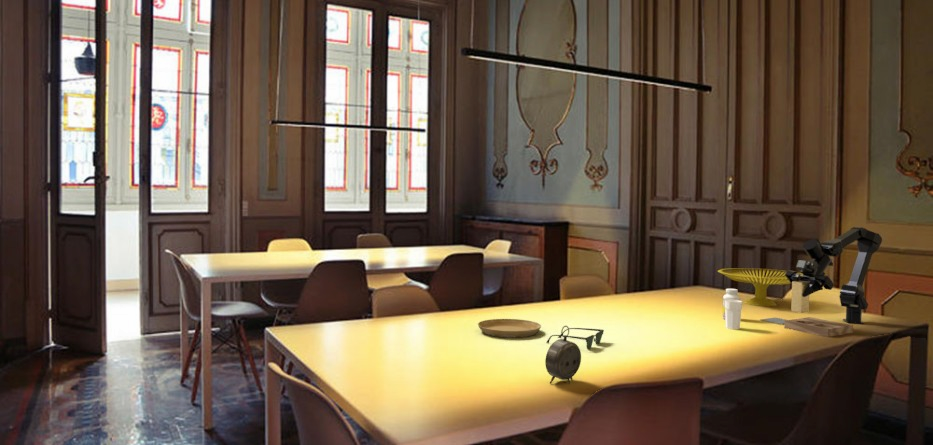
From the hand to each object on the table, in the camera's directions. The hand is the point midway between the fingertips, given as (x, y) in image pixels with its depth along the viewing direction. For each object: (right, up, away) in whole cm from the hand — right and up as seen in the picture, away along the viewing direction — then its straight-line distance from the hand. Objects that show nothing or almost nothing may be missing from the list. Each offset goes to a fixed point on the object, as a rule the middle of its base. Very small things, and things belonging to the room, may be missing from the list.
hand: (798, 295), depth 267 cm
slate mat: (-1, -13, +15) cm, 20 cm away
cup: (-26, -13, 0) cm, 29 cm away
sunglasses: (-94, -14, -29) cm, 100 cm away
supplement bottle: (-19, -12, +19) cm, 30 cm away
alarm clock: (-105, -17, -77) cm, 131 cm away
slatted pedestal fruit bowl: (+11, -11, +60) cm, 62 cm away
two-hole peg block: (+7, -14, -2) cm, 15 cm away
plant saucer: (-116, -13, -11) cm, 117 cm away
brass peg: (+1, -7, +1) cm, 7 cm away
